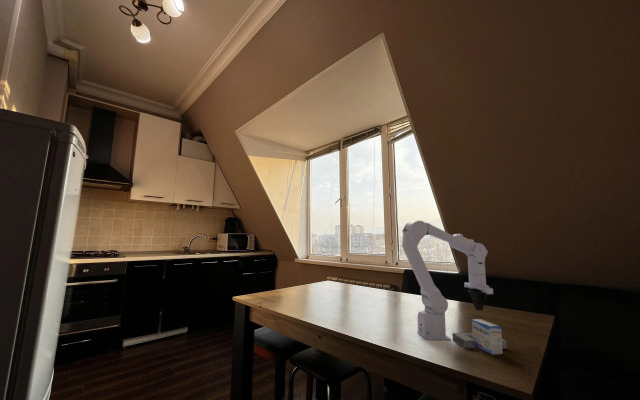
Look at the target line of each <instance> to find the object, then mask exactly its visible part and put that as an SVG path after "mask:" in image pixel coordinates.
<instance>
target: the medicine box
mask: <svg viewBox="0 0 640 400" xmlns="http://www.w3.org/2000/svg"><path fill="white" fill-rule="evenodd" d="M471 327H472V328H471V329H472V330H471V331H472V332H471V333H472V335H473V340H475V348H477V349H479V350H481V351H484V352H486V353H488V354H490V355H494V356H495V355H502V354H503V353H504V352H503V349H502V339H503V338H502V327H501V326H500V325H497V324H495V323H492V322H489V321H487V320H484V319H479V318H475V319H471Z"/></svg>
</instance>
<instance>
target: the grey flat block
mask: <svg viewBox="0 0 640 400" xmlns="http://www.w3.org/2000/svg"><path fill="white" fill-rule="evenodd" d="M452 341H453V342H455V343H456V344H458V345H459V346H461V347H462V348H463V349H476V347H475V340H473V335H472V332H470V333H468V332H452ZM507 347H508V346H507V340H505V339H503V338H502V350H503V349H504V350H505V349H506V350H507V349H508V348H507Z"/></svg>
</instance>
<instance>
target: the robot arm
mask: <svg viewBox="0 0 640 400" xmlns="http://www.w3.org/2000/svg"><path fill="white" fill-rule="evenodd" d="M401 232H402V242H401V243H402V245H401V247H402V249H403V251H404V254H405V256H406V258H407V260H408V262H409V265H410V267H411V269H412V270H413V273H414V275H415V278H416V281H417V283H418V285H419V286H420V295H421V302H422V304H423V306H424V310H421V311H418V313H417V331H416V332H417V333H418V335H420V336H421V337H422V338H424V339H426V340H430V341H431V340H432V341H433V340H435V341H436V340H438V341H441V340H443V341H449V340H452V339H451V337H449V336H448V335H447V332H446V331H447V329H446V327H447V326H446V312H447V310H448V308H449V302H448V300H447V299H446V297H444V296H443V295H442V293H441V291H440V289H439V288H438V287H437V286H436V285H435V283H434V281H433V278H432V276H431V274H430V272H429V269H428V267H427V264H426V263H425V261H424V259H423V257H422V254H421V253H420V250H419V248H418V246H419V244H420V241H421V240H422V239H423V238H424V237H425V236H432V237H434V238H436V239H438V240H441V241H444V242H446V243H448V245H449V247H450V248H451V249H455V250H456V251H459V252H461V253H463V254H464V255H466V257H467V267H468V268H467V270H468V282H464V283H463V284H464V288H468V290H467V293H468V294H469V296H470V297H471V301H472V302H473V306H474V309H475V311H483V310H484V305H485V302H486V299H487V297H488V296H489V295H494V289H493V288H492V287H490V286H489V285H487V279H486V276H487V275H486V264H485V263H486V258H487V257H486V256H487V255H488V252H489V251H488V249H486V246H485V245H484V244H483V243H480V242H475V241H474V239H469V238H466V237H465V236H464V235H463V234H461V233H455V234H450V233H448V232H446V231H444V230H442V229H441V228H438V227H436V226H434V225H433V224H431V223H428V222H425V221H423V220H416V221H410V222H407V223H406V224H405V225H404V226H403V228H402V231H401Z"/></svg>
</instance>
